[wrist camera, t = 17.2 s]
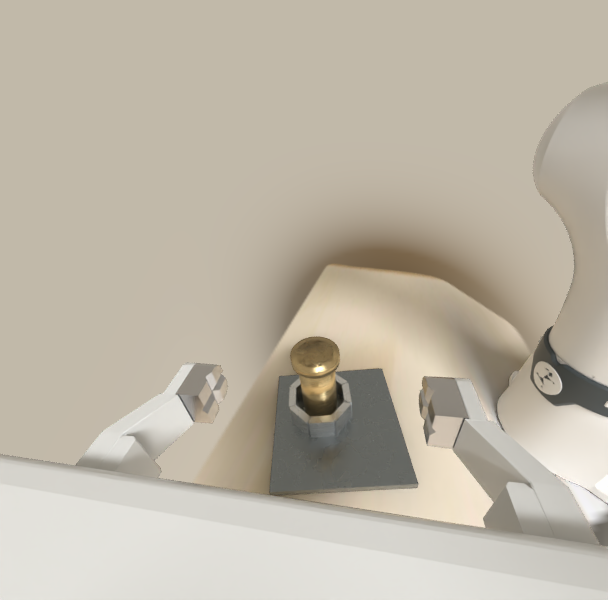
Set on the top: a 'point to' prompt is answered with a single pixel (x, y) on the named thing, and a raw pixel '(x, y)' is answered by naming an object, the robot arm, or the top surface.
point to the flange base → (340, 440)
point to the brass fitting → (317, 374)
